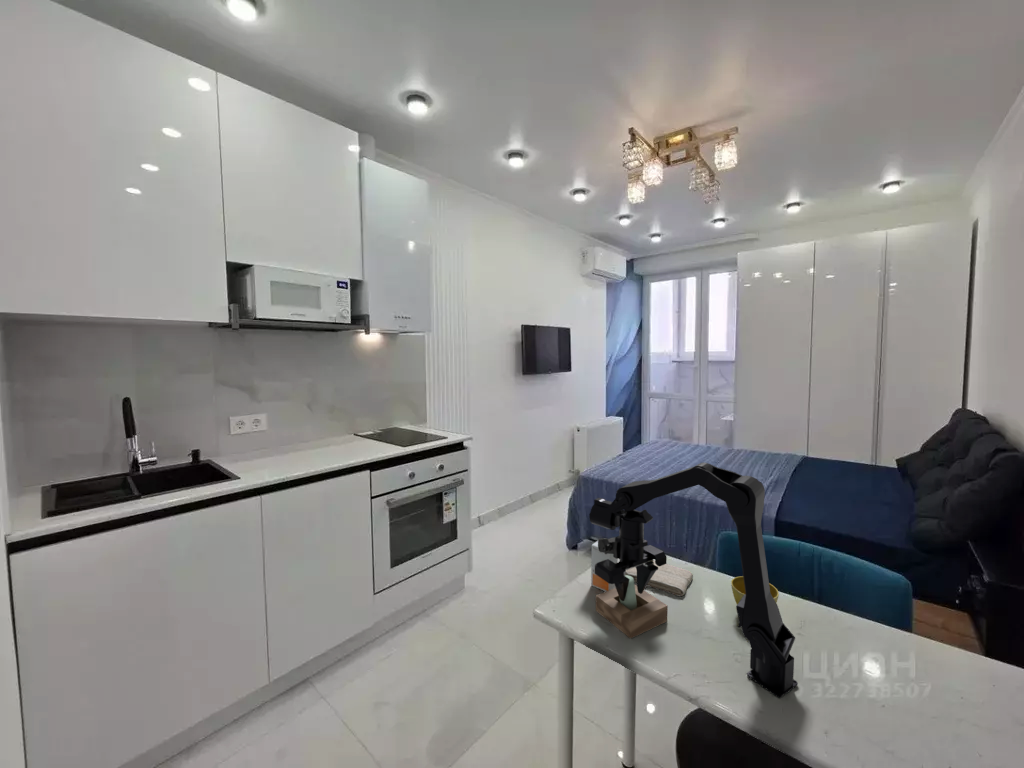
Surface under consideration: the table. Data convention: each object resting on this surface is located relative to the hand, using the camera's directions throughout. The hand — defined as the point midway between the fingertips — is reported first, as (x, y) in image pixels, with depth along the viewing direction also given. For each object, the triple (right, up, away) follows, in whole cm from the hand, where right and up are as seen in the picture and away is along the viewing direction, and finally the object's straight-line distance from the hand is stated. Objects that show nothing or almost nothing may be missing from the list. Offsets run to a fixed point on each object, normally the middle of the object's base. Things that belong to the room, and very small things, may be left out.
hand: (631, 596), depth 104 cm
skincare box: (-4, -4, +13) cm, 14 cm away
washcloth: (+12, -4, +18) cm, 22 cm away
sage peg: (0, -4, +1) cm, 4 cm away
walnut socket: (0, -5, 0) cm, 5 cm away
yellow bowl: (+30, -5, 0) cm, 30 cm away
